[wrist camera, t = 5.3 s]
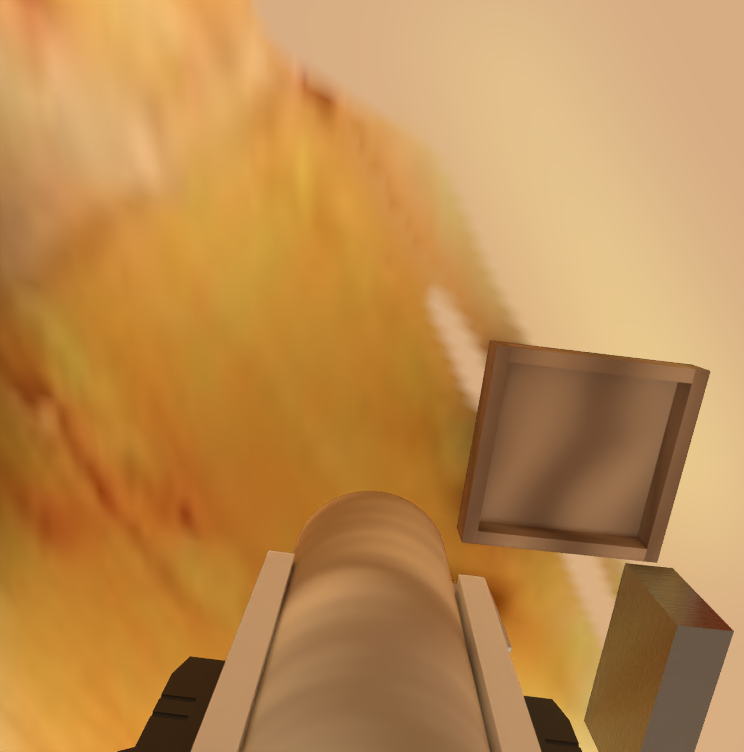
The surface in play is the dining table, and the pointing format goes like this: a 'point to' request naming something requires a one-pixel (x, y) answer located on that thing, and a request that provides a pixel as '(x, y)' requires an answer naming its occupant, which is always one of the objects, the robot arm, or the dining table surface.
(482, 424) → the tray
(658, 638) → the block
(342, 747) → the roller
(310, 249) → the dining table surface
